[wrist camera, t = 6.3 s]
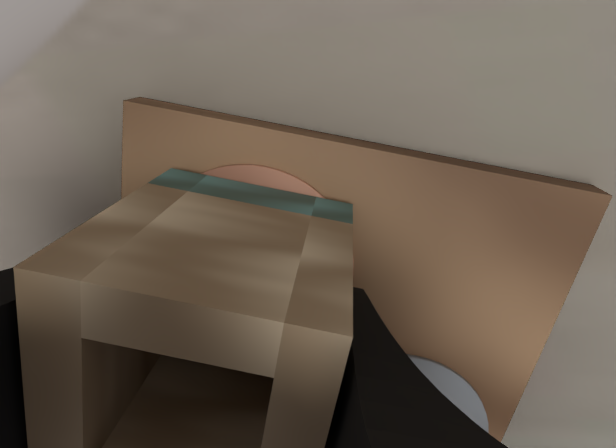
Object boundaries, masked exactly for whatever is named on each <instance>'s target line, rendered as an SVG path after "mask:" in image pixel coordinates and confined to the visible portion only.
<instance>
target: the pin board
mask: <svg viewBox="0 0 616 448" xmlns="http://www.w3.org/2000/svg"><path fill="white" fill-rule="evenodd" d="M170 168H173V169H178V170H183V171H189V172H194V173H199V174H204V175H209V176H214V177H219V178H224V179H229V180H234V181H239V182H244V183H249V184H254V185H259V186H264V187H269V188H274V189H279V190H284V191H289V192H294V193H299V194H304V195H309V196H314V197H320V198H325V199H330V200H335V201H340V202H345V203H350V204H353V287H356V288H361V289H364V291H365V292H366V294H367V296H368V297H369V299H370V301H371V302H372V304H373V306H374V308H375V309H376V311H377V313H378V314H379V316H380V317H381V319H382V321H383V322H384V324H385V325H386V327H387V328H388V330H389V331H390V333H391V334H392V336H393V337H394V339H395V340H396V341H397V343H398V344H399V345H400V347H401V348H402V349H403V350H404V352H405V353H406V354H407V355H408V357H409V358H410V359H411V360H412V362H413V363H414V364H415V365H416V366H417V367H418V369H419V370H420V371H421V372H422V373H423V374H424V375H425V376H426V377H427V378H428V379H429V380H430V381H431V382H432V383H433V385H434V386H435V387H436V388H437V389H438V390H439V391H440V392H441V393H442V394H443V395H444V396H446V397H447V398H448V399H449V400H450V401H451V402H452V403H453V404H454V405H455V406H457V407H458V408H459V409H460V410H461V411H462V412H463V413H465V414H466V415H467V416H468V417H469V418H470V419H471V420H473V421H474V422H475V423H476V424H477V425H479V426H480V427H481V428H483V429H484V430H485V431H486V432H488V433H489V434H490V435H491V436H493V437H494V438H495V439H497V440H498V441H499V442H501V440H502V438H503V436H504V434H505V431H506V429H507V427H508V425H509V423H510V420H511V418H512V416H513V414H514V412H515V409H516V407H517V405H518V403H519V401H520V398H521V396H522V394H523V392H524V390H525V387H526V385H527V383H528V381H529V379H530V376H531V374H532V372H533V370H534V368H535V365H536V363H537V361H538V359H539V357H540V354H541V352H542V350H543V348H544V346H545V343H546V341H547V339H548V337H549V335H550V332H551V330H552V328H553V326H554V324H555V321H556V319H557V317H558V315H559V313H560V310H561V308H562V306H563V304H564V301H565V299H566V297H567V295H568V293H569V290H570V288H571V286H572V284H573V282H574V279H575V277H576V275H577V273H578V271H579V268H580V266H581V264H582V262H583V260H584V257H585V255H586V253H587V251H588V249H589V246H590V244H591V242H592V240H593V238H594V235H595V233H596V231H597V229H598V227H599V224H600V222H601V220H602V218H603V216H604V213H605V211H606V209H607V207H608V205H609V202H610V200H611V198H612V195H610V194H608V193H606V192H604V191H603V190H601V189H599V188H597V187H595V186H593V185H589V184H584V183H579V182H574V181H568V180H563V179H558V178H553V177H548V176H543V175H538V174H532V173H527V172H522V171H517V170H512V169H507V168H502V167H497V166H491V165H486V164H481V163H476V162H471V161H466V160H461V159H455V158H450V157H445V156H440V155H435V154H430V153H425V152H420V151H414V150H409V149H404V148H399V147H394V146H389V145H384V144H378V143H373V142H368V141H363V140H358V139H353V138H348V137H343V136H337V135H332V134H327V133H322V132H317V131H312V130H307V129H301V128H296V127H291V126H286V125H281V124H276V123H271V122H266V121H260V120H255V119H250V118H245V117H240V116H235V115H230V114H224V113H219V112H214V111H209V110H204V109H199V108H194V107H189V106H183V105H178V104H173V103H168V102H163V101H158V100H153V99H147V98H142V97H138V98H133V99H128V100H123V138H122V185H121V199H123V198H124V197H126V196H127V195H129V194H131V193H132V192H134V191H135V190H137V189H139V188H140V187H142V186H143V185H145V184H147V183H148V182H150V181H151V180H153V179H154V178H156V177H158V176H159V175H161V174H162V173H164V172H166V171H167V170H169V169H170Z"/></svg>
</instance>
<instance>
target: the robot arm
mask: <svg viewBox="0 0 616 448" xmlns="http://www.w3.org/2000/svg"><path fill="white" fill-rule="evenodd" d="M0 448H28V444H27V432H26V419H25V407H24V394H23V382H22V369H21V357H20V344H19V332H18V319H17V307H16V294H15V282H14V269H13V268H10V269H6V270H2V271H0ZM325 448H508V447H506V446H505V445H504V444H502V443H501V442H499V441H498V440H497V439H495V438H494V437H493V436H491V435H490V434H489V433H488V432H486V431H485V430H484V429H483V428H481V427H480V426H479V425H477V424H476V423H475V422H474V421H473V420H471V419H470V418H469V417H468V416H467V415H466V414H465V413H463V412H462V411H461V410H460V409H459V408H458V407H457V406H455V405H454V404H453V403H452V402H451V401H450V400H449V399H448V398H447V397H446V396H444V395H443V394H442V393H441V392H440V391H439V390H438V389H437V388H436V387H435V386H434V385H433V383H432V382H431V381H430V380H429V379H428V378H427V377H426V376H425V375H424V374H423V373H422V372H421V371H420V370H419V369H418V367H417V366H416V365H415V364H414V363H413V362H412V360H411V359H410V358H409V357H408V355H407V354H406V353H405V352H404V350H403V349H402V348H401V347H400V345H399V344H398V343H397V341H396V340H395V339H394V337H393V336H392V334H391V333H390V331H389V330H388V328H387V327H386V325H385V324H384V322H383V321H382V319H381V317H380V316H379V314H378V313H377V311H376V309H375V308H374V306H373V304H372V302H371V301H370V299H369V297H368V296H367V294H366V292H365V291H364V289H361V288H356V287H353V339H352V343H351V347H350V351H349V354H348V358H347V362H346V366H345V370H344V374H343V378H342V382H341V386H340V389H339V393H338V397H337V401H336V405H335V409H334V413H333V417H332V420H331V424H330V428H329V432H328V436H327V440H326V444H325Z"/></svg>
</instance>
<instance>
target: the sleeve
mask: <svg viewBox="0 0 616 448" xmlns="http://www.w3.org/2000/svg"><path fill="white" fill-rule="evenodd" d="M13 269H14V282H15V294H16V307H17V319H18V332H19V344H20V357H21V369H22V382H23V394H24V407H25V419H26V432H27V444H28V448H325V444H326V440H327V436H328V432H329V428H330V424H331V420H332V417H333V413H334V409H335V405H336V401H337V397H338V393H339V389H340V386H341V382H342V378H343V374H344V370H345V366H346V362H347V358H348V354H349V351H350V347H351V343H352V339H353V204H350V203H345V202H340V201H335V200H330V199H325V198H320V197H314V196H309V195H304V194H299V193H294V192H289V191H284V190H279V189H274V188H269V187H264V186H259V185H254V184H249V183H244V182H239V181H234V180H229V179H224V178H219V177H214V176H209V175H204V174H199V173H194V172H189V171H183V170H178V169H173V168H170V169H169V170H167V171H166V172H164V173H162V174H161V175H159V176H158V177H156V178H154V179H153V180H151V181H150V182H148V183H147V184H145V185H143V186H142V187H140V188H139V189H137V190H135V191H134V192H132V193H131V194H129V195H127V196H126V197H124V198H123V199H121V200H119V201H118V202H116V203H115V204H113V205H112V206H110V207H108V208H107V209H105V210H104V211H102V212H100V213H99V214H97V215H96V216H94V217H92V218H91V219H89V220H88V221H86V222H84V223H83V224H81V225H80V226H78V227H77V228H75V229H73V230H72V231H70V232H69V233H67V234H65V235H64V236H62V237H61V238H59V239H57V240H56V241H54V242H53V243H51V244H49V245H48V246H46V247H45V248H43V249H42V250H40V251H38V252H37V253H35V254H34V255H32V256H30V257H29V258H27V259H26V260H24V261H22V262H21V263H19V264H18V265H16V266H14V267H13Z"/></svg>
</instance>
